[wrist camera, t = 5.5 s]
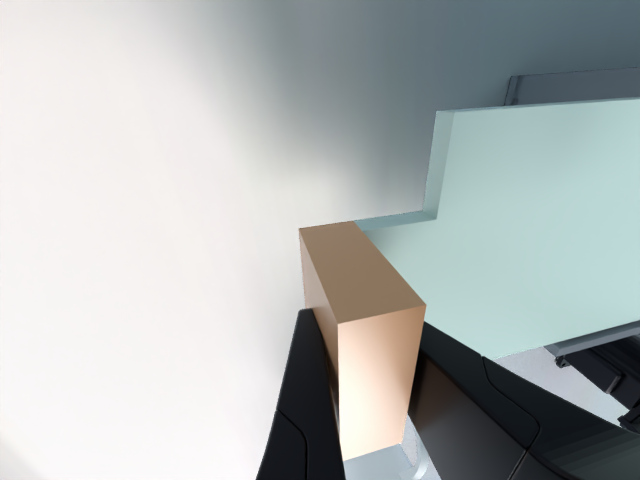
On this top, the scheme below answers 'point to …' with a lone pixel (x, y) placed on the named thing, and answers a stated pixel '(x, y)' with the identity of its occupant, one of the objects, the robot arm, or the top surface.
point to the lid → (481, 253)
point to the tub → (569, 90)
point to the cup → (388, 464)
